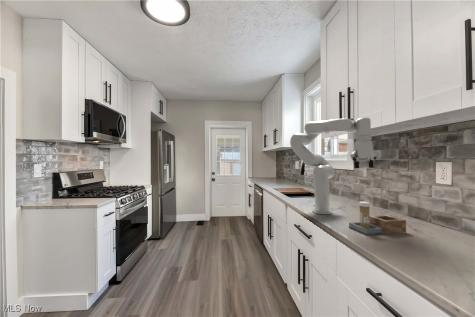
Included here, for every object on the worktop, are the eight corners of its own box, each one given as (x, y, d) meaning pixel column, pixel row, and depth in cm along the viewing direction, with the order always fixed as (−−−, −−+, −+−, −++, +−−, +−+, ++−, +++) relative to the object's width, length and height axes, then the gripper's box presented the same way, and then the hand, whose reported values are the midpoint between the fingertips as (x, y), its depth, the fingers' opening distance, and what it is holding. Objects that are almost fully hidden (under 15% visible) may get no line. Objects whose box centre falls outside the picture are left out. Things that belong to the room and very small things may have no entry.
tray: (349, 227, 115) (348, 222, 115) (364, 226, 117) (364, 221, 117) (366, 234, 103) (366, 229, 103) (382, 233, 105) (382, 228, 105)
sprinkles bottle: (369, 231, 107) (368, 203, 107) (358, 229, 110) (358, 202, 110) (371, 228, 110) (370, 201, 110) (361, 227, 113) (360, 200, 113)
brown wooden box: (368, 227, 114) (368, 215, 114) (386, 226, 116) (386, 214, 116) (386, 234, 103) (386, 221, 104) (406, 232, 105) (405, 220, 106)
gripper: (371, 139, 135) (371, 167, 135) (346, 139, 132) (346, 168, 132) (381, 138, 128) (382, 167, 127) (354, 138, 124) (355, 168, 124)
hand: (364, 168), depth 130 cm, fingers open, 9 cm apart
